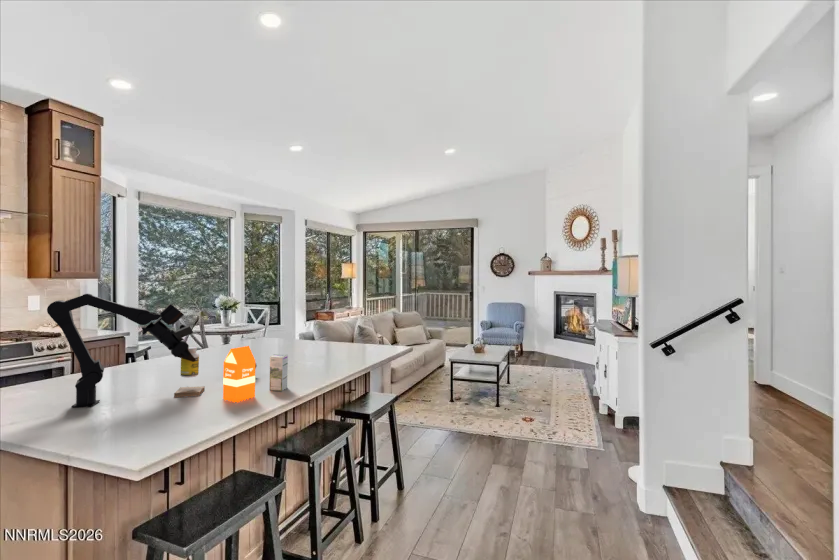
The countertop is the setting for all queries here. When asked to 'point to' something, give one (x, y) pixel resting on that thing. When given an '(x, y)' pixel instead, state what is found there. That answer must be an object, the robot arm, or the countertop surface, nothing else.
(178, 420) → the countertop surface
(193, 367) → the pill bottle
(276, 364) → the syrup box
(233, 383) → the orange juice
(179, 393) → the base tile
